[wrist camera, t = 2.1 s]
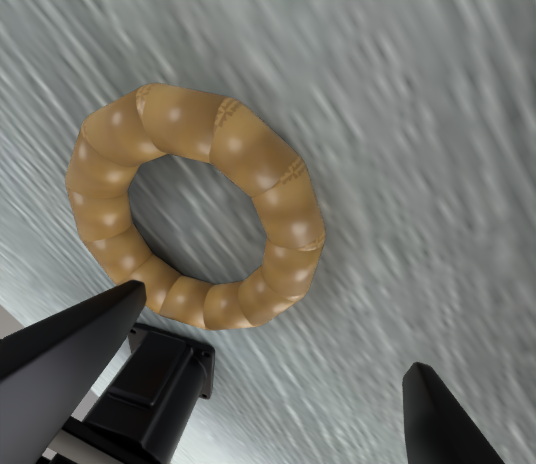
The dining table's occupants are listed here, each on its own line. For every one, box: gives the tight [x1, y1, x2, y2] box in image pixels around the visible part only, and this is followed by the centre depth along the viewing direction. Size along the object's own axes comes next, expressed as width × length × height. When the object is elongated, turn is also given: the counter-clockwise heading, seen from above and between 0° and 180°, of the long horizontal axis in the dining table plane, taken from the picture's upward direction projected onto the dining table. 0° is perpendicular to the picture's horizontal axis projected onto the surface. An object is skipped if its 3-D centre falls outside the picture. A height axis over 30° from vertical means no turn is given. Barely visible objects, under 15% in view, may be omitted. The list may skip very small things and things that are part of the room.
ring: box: [65, 83, 326, 330], centre depth 13 cm, size 12×12×2 cm
